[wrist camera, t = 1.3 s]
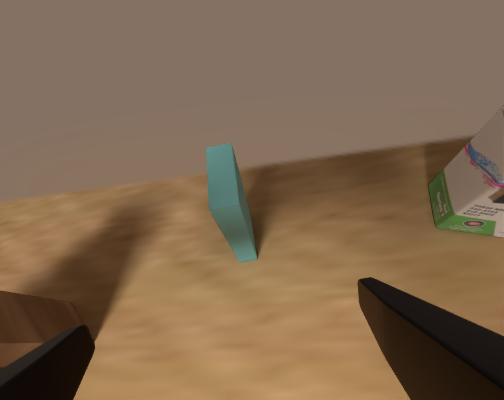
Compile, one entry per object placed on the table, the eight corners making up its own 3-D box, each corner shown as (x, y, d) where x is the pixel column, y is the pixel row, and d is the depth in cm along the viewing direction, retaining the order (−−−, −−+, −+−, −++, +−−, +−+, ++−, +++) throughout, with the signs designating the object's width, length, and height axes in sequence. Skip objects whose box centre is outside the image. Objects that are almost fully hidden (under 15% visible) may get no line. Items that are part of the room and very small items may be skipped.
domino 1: (71, 302, 21) (-78, 277, 12) (94, 341, 19) (-61, 344, 10) (54, 317, 20) (-113, 302, 12) (76, 359, 19) (-102, 377, 10)
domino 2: (250, 215, 23) (231, 143, 15) (257, 259, 21) (239, 204, 12) (234, 218, 23) (206, 147, 15) (239, 262, 21) (209, 209, 12)
